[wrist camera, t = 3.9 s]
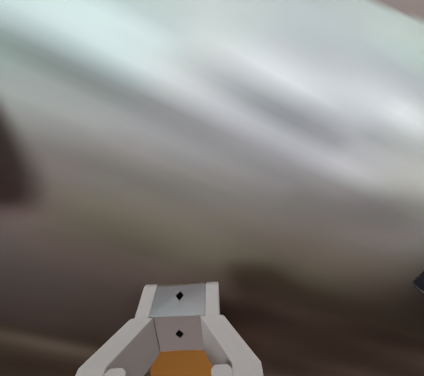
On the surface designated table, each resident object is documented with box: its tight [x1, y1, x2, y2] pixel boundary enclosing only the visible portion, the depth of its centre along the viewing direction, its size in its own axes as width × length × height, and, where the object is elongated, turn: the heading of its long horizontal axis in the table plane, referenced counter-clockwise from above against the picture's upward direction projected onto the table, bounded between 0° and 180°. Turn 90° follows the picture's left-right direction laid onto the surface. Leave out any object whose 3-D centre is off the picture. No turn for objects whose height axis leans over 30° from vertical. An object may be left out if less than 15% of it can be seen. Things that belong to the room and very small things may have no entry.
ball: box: [150, 350, 213, 376], centre depth 17 cm, size 6×6×6 cm
